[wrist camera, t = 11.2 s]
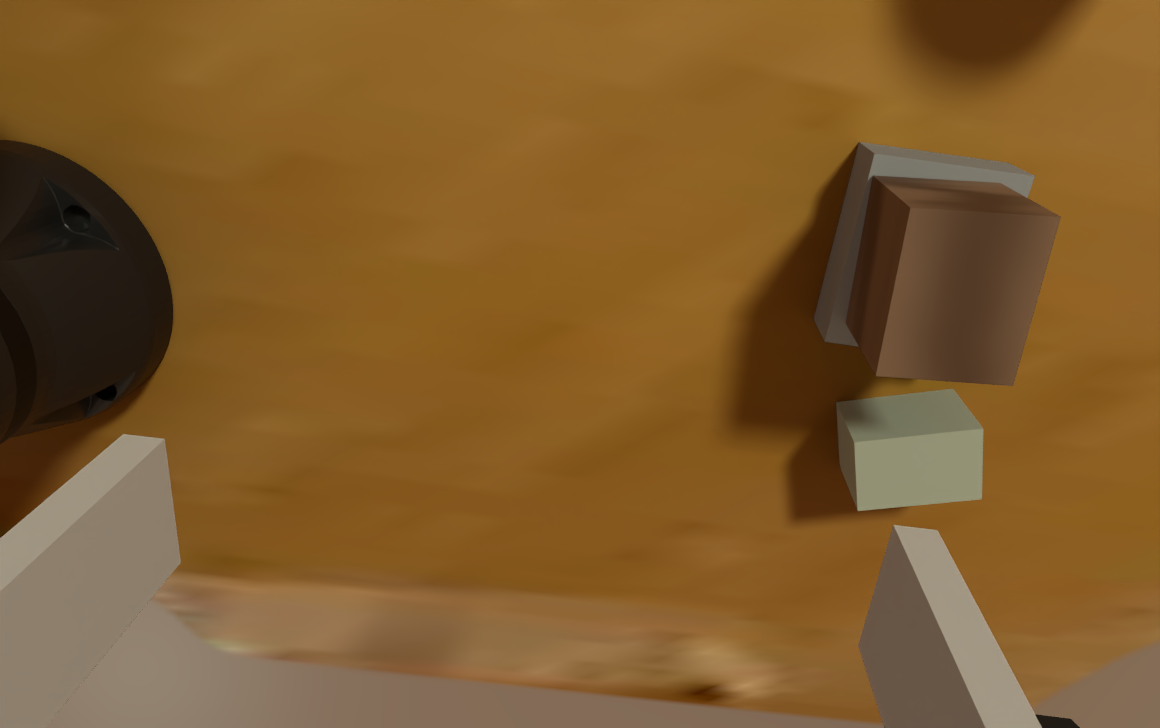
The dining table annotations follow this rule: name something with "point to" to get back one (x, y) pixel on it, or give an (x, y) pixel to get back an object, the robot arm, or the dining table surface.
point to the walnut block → (948, 278)
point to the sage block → (910, 450)
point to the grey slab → (853, 214)
